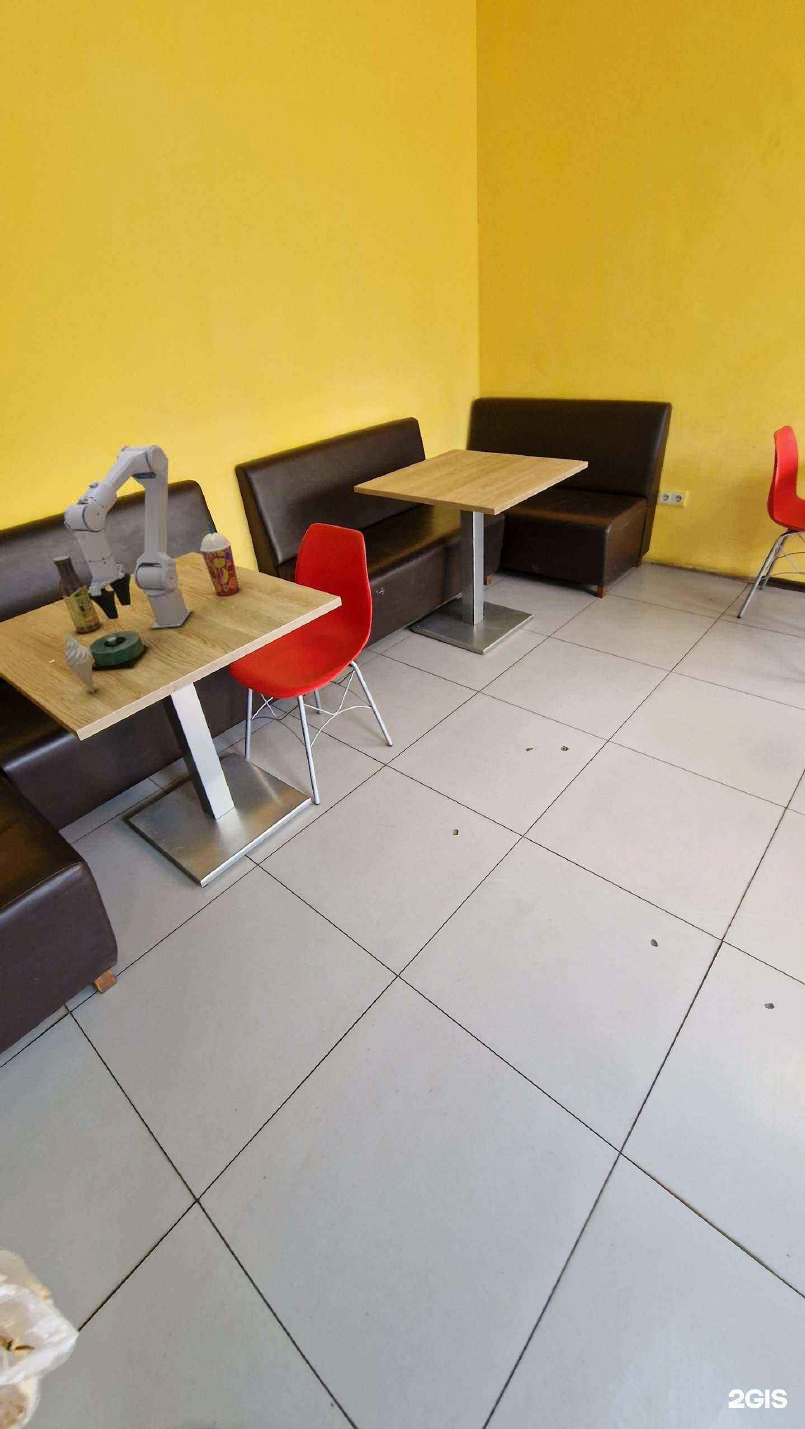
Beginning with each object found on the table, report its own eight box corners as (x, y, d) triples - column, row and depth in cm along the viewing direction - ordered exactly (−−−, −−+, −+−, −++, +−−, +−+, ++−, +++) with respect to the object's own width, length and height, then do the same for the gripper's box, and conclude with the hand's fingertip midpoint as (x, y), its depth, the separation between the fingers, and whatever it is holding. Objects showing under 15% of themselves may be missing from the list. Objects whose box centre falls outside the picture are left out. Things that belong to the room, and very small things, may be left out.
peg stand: (108, 651, 158) (100, 631, 155) (147, 648, 157) (139, 627, 154) (91, 671, 150) (82, 650, 147) (131, 667, 149) (123, 647, 146)
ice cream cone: (97, 683, 144) (72, 624, 136) (109, 689, 141) (83, 629, 133) (77, 694, 141) (49, 633, 133) (88, 700, 138) (60, 639, 130)
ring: (106, 644, 159) (102, 632, 157) (150, 640, 158) (146, 629, 156) (86, 667, 149) (81, 655, 148) (133, 663, 148) (128, 651, 147)
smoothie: (212, 589, 186) (193, 522, 175) (240, 583, 188) (223, 516, 177) (214, 599, 180) (194, 530, 168) (243, 593, 181) (225, 524, 170)
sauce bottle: (92, 633, 168) (62, 562, 157) (72, 633, 170) (41, 563, 159) (106, 623, 174) (78, 553, 163) (87, 623, 175) (58, 554, 164)
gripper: (102, 567, 138) (124, 623, 146) (128, 545, 150) (147, 597, 158) (71, 570, 139) (95, 625, 147) (100, 547, 151) (120, 600, 159)
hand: (120, 611), depth 152 cm, fingers open, 7 cm apart
